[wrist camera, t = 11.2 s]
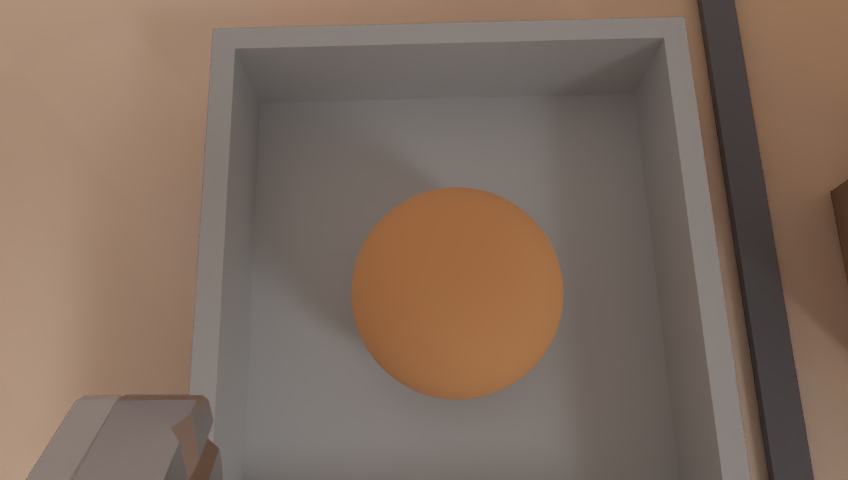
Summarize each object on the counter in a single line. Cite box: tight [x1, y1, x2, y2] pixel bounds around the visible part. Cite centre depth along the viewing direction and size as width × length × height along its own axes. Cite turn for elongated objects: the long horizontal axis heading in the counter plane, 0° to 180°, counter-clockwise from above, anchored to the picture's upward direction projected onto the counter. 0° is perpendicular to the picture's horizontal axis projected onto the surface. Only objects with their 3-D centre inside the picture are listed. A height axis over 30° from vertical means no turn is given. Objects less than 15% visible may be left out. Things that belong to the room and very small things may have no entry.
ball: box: [351, 187, 563, 400], centre depth 18 cm, size 5×5×5 cm
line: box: [698, 0, 814, 480], centre depth 21 cm, size 1×22×1 cm, turn 1°
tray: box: [189, 17, 751, 480], centre depth 20 cm, size 12×14×4 cm
